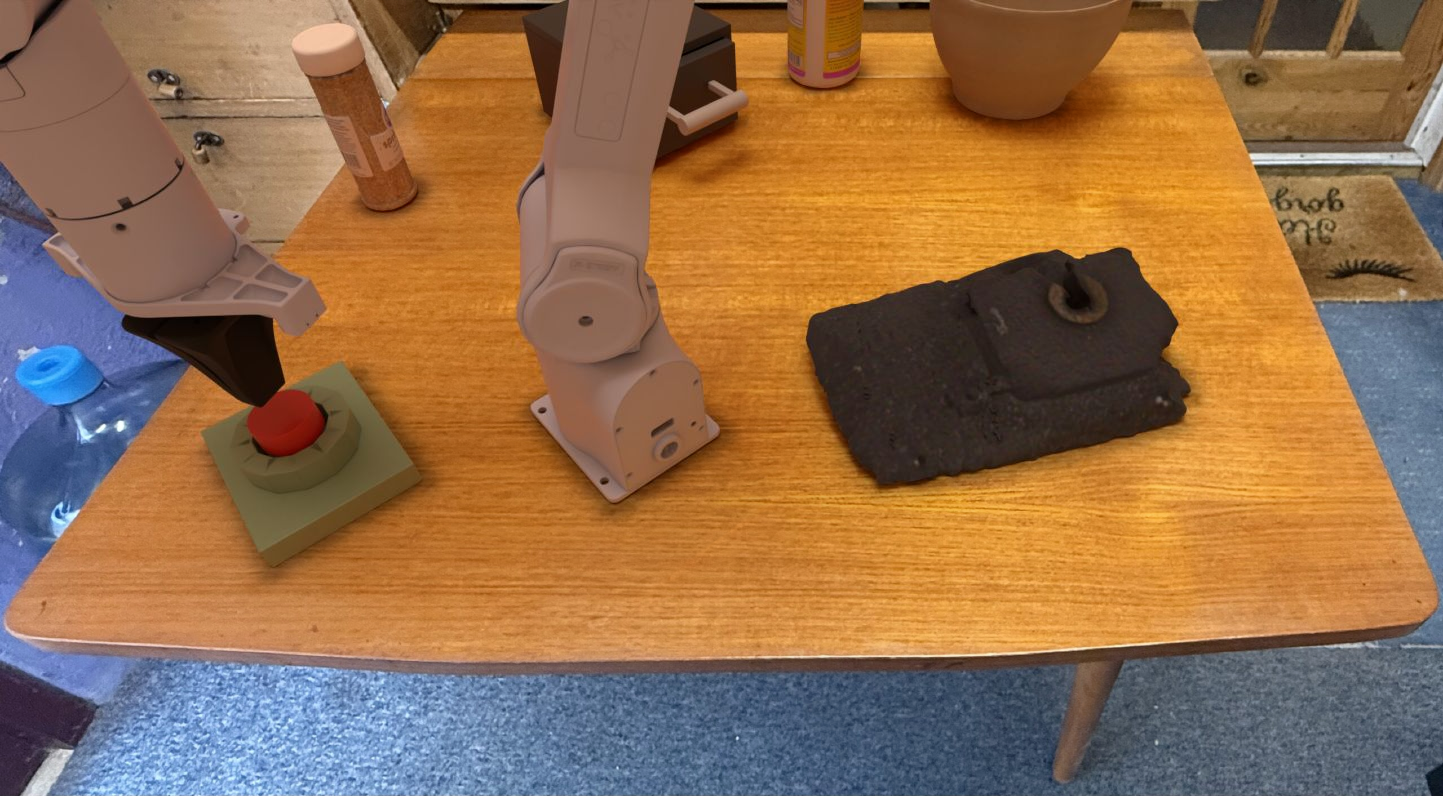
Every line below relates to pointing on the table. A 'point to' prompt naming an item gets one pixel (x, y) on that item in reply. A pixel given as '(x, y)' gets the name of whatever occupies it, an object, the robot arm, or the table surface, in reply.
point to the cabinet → (549, 35)
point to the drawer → (702, 95)
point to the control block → (312, 469)
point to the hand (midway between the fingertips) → (264, 392)
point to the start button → (286, 423)
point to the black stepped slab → (999, 365)
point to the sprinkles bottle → (355, 113)
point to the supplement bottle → (824, 41)
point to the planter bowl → (1022, 50)
